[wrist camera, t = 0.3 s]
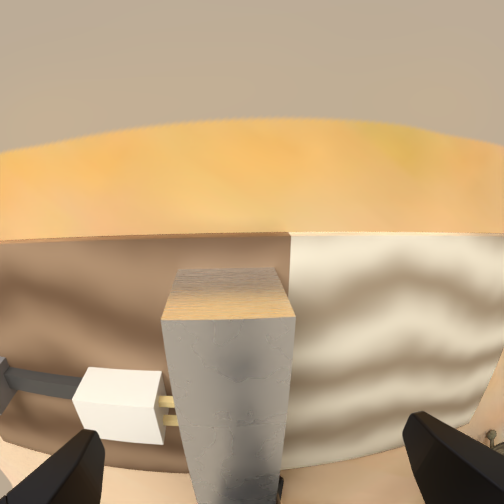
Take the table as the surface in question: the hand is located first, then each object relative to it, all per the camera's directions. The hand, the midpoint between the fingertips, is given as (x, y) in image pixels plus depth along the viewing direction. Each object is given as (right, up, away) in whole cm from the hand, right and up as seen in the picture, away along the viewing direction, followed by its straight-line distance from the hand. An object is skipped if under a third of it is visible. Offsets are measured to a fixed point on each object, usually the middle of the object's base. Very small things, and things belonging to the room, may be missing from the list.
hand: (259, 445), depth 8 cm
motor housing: (-2, -5, +16) cm, 17 cm away
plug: (-16, -6, +14) cm, 22 cm away
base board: (-1, -5, +17) cm, 17 cm away
